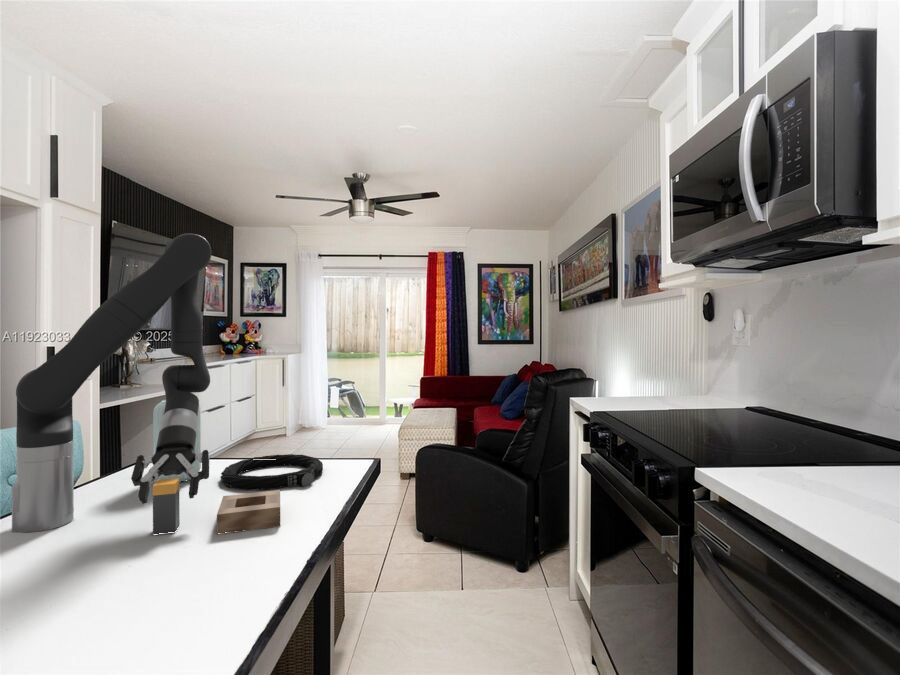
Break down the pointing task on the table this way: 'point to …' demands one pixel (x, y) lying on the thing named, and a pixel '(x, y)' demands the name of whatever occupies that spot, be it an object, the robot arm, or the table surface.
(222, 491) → the table surface
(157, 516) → the connector plug
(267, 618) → the table surface
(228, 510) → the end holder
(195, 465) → the vase
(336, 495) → the table surface
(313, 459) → the cable lock
